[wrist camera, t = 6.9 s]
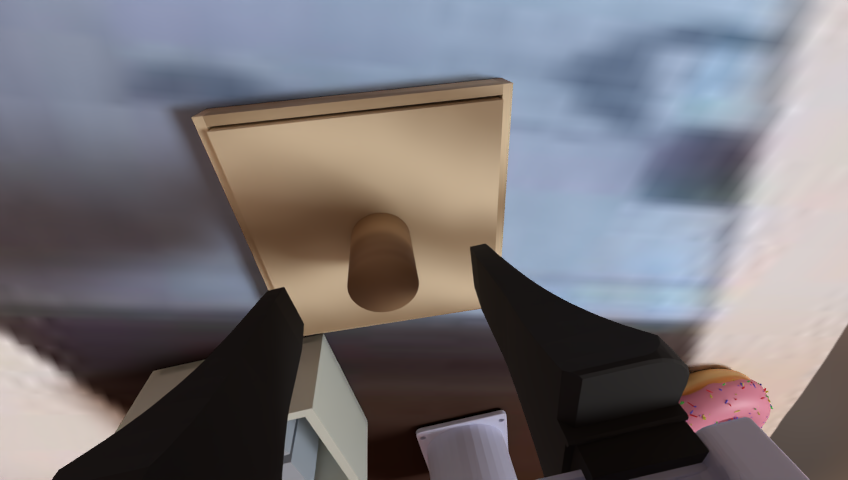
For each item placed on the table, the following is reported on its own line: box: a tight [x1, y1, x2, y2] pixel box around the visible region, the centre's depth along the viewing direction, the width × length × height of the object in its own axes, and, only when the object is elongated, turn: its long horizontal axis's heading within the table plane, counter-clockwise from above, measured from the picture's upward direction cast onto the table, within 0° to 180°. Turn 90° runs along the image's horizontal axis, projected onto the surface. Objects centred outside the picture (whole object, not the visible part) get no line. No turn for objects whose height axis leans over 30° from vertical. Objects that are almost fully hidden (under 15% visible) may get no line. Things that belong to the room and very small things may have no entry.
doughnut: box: [678, 369, 773, 433], centre depth 31 cm, size 11×11×4 cm
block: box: [282, 417, 319, 480], centre depth 24 cm, size 4×4×4 cm
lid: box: [191, 78, 513, 336], centre depth 15 cm, size 12×12×5 cm
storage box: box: [115, 334, 368, 480], centre depth 22 cm, size 11×11×5 cm
